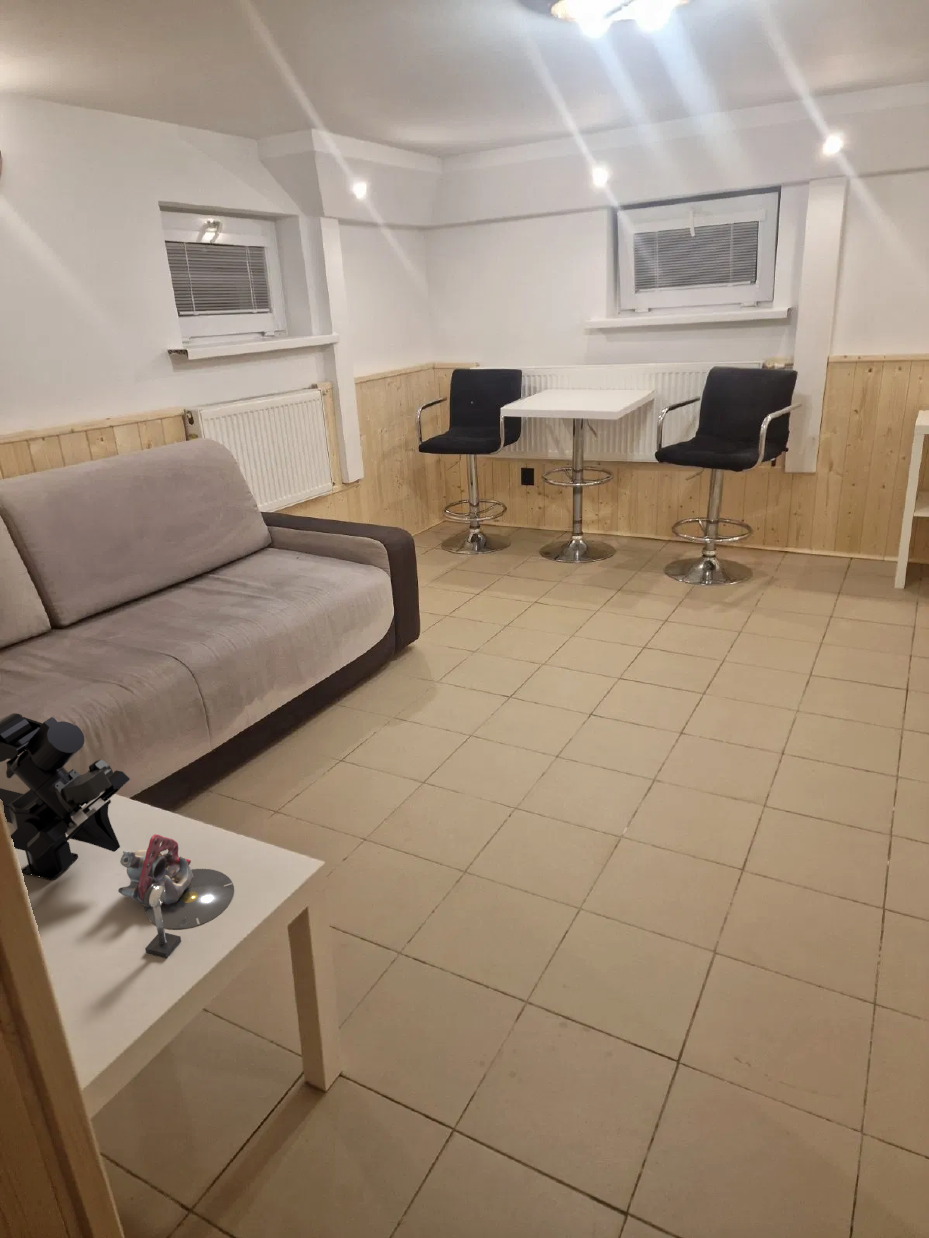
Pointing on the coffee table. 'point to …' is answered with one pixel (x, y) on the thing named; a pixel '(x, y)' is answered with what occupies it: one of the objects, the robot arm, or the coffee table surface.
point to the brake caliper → (156, 870)
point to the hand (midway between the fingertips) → (117, 849)
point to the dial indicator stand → (159, 923)
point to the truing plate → (197, 901)
